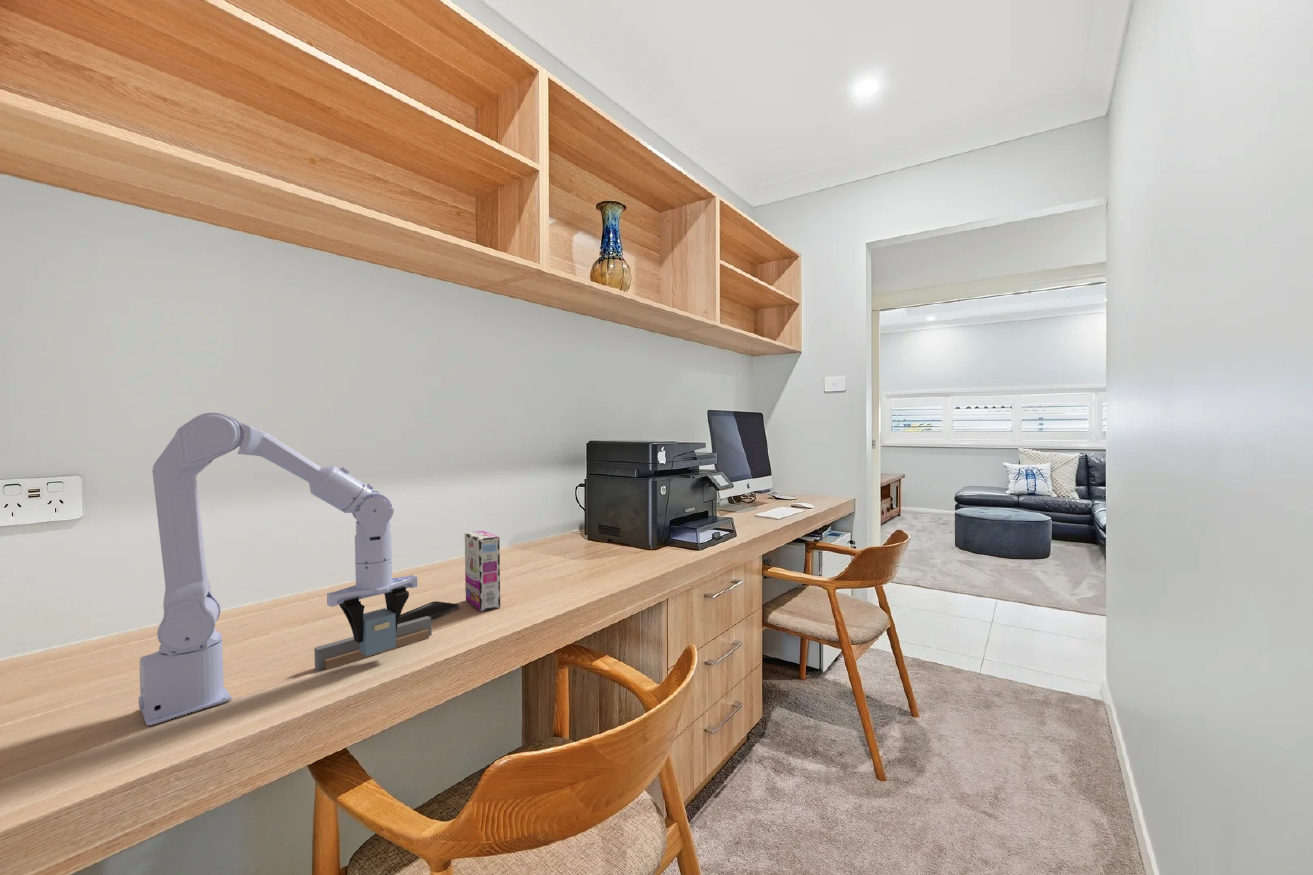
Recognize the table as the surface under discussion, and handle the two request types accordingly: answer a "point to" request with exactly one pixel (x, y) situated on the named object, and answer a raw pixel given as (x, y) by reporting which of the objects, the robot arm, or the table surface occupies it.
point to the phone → (428, 611)
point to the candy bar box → (482, 570)
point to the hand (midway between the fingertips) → (375, 636)
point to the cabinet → (378, 632)
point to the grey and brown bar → (350, 652)
